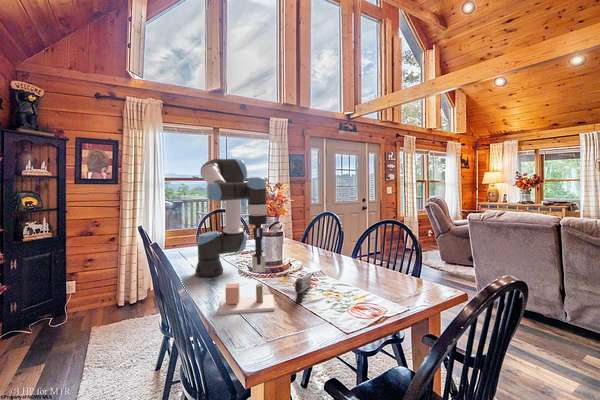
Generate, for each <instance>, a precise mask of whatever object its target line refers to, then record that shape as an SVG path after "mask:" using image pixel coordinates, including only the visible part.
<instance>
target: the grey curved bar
mask: <svg viewBox="0 0 600 400" xmlns="http://www.w3.org/2000/svg"><path fill="white" fill-rule="evenodd" d="M311 284H312V274H305V275H304V274H303V276H299V277H297V278H296V281H295V283H294V285H295V286H294V290H295V293H296V297H295V303H298V304H301V303H302V302H303V299H304V298H303V297H304V291H306V290H307V289H309V288H310V287H311Z"/></svg>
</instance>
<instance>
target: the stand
mask: <svg viewBox="0 0 600 400" xmlns="http://www.w3.org/2000/svg"><path fill="white" fill-rule="evenodd" d="M224 289H225V292H224V293H225V297H222V299H221V302H220V305H219V309H218V315H231V314H233V315H234V314H246V313H258V312H259V313H260V312H271V311H275V310H276V308H275V307H276V306H275V300H274V299H275V298H274V294H265V295H264V294H263V293H264V292H263V283H262V284H261V283H260V284H259V283H258V284H255V294H256V295H244V296H243V295H242V296H241V295H240V293H241V292H240V283H239V282H237V283H235V282H234V283H226V285H225V288H224Z"/></svg>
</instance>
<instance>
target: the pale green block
mask: <svg viewBox="0 0 600 400" xmlns="http://www.w3.org/2000/svg"><path fill="white" fill-rule="evenodd" d="M254 255H255V253H252V254H251V261H252V263H251V264H252V265H251V266H252V273H257V272H256V265H255V257H254ZM265 272H266V253H265V252H262V272H261V273H265Z"/></svg>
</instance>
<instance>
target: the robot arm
mask: <svg viewBox="0 0 600 400" xmlns="http://www.w3.org/2000/svg"><path fill="white" fill-rule="evenodd" d="M200 176H201V178H202V180H204V181H205V182H206V183H207V184H206V197H207V200H208V201H210V202H211V201H215V202H217V201H218V202H219V201H224V202H225V204H224V205H225V206H224V207H225V209H224V211H225V213H224V214H225V216H224V217H225V218H224V219H225V220H224V221H225V223H224V224H225V226H224V228H223V229H222V233H219V231H218V230H217V231H216V230H214V231H207V232H203V233H201V234H199V235H198V236H197V242H196V243H197V244H196V245H197V260H198V261H197V263H196V267H195V271H194V272H195V273H194V274H195V276H196V277H197V278H203V279H204V278H213V277H218V276H221V275H222V274H223V273H224V268H223V265H222V262H221V259H220V255H224V254H225V255H226V254H235V253H240V252H243V251H244V250H245V248H246V245H247V233H246V232H245V231H244V228H243V227H241V225H242V222H241V221H242V219H241V218H242V217H241V215H242V211H241V209H242V207H241V203H242V200H243V201H244V200H247V207H246V209H247V210H248V225H250V226H254V228H252V232H253V240H254V245H255V246H254V247H255V248H254V249H255V251H254V252H255V253H254V254H255V255H254V257H255V265H256V272H255V273H263V272H262V253H264V249H262V240H263V233H264V230H263V227H262V225H267V223H268V217H267V211H268V209H267V208H268V207H267V205H268V204H267V181H266V178H265V177H263V176H262V177H258V176H255V177H253V176H252V177H248V170H247V165H246V163H245V161H244V160H242V159H238V158H213V159H211V160H208V161H206V162H205V163H203V165H202V166H201V168H200ZM246 180H247V182H245V181H246Z"/></svg>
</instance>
